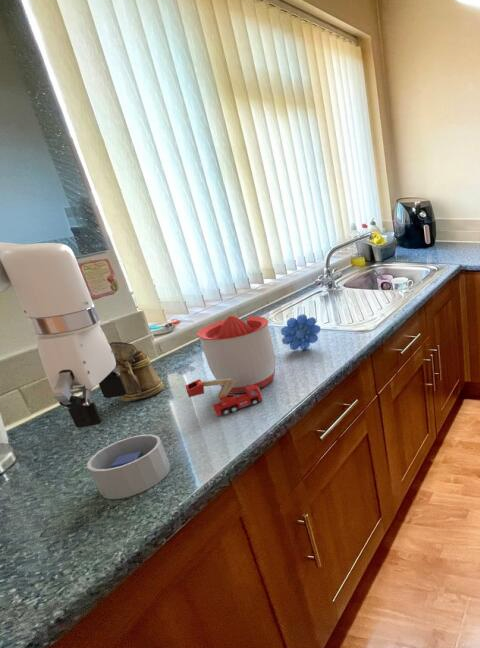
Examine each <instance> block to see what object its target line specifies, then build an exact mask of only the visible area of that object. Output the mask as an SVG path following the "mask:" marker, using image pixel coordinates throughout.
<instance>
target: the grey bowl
mask: <svg viewBox="0 0 480 648" xmlns="http://www.w3.org/2000/svg"><path fill="white" fill-rule="evenodd" d="M140 451H141V452H142V454H143V456H142V457H141V458H139V459H137V460H135V461H133V462H130V463H128V464H125V465H122V466H119V467H115V468H110V467H111V465H112V463H113V462H114V461H115V459H116V458H117V457H118V456H121V455H126V454H130V453H135V452H140ZM86 467H87V470H88V473H89V475H90V476H91V478H92V481H93V483H94V485H95V486H96V488H97V490H98V493H99V494H100V495H101V496H102V497H103V498H104V499H107V500H120V499H125V498H129V497H132V496H133V497H134V496H135V495H138V494H141V493H143V492H145V491H148V490H149V489H151V488H152V487H155V486H156V485H158V484H159V483H160V482H161V481H162V480H164V479H165V478H166V477H167V476H168V474H169V473H170V471H171V469H172V466H171V461H170V459H169V457H168V455H167V451H166V449H165V447H164V445H163V442H162V440H161V437H160V436H158V435H156V434H139V435H133V436H130V437H126V438H124V439H120V440H117V441H115V442H113V443H111V444H109V445H107V446H105V447H103V448H101V449H100V450H99V451H97V452H96V453H95V454H93V455H92V456H91V457H90V458H89V460H88V461H87V462H86Z"/></svg>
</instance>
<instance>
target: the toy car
mask: <svg viewBox="0 0 480 648" xmlns="http://www.w3.org/2000/svg"><path fill="white" fill-rule="evenodd" d="M142 456H143V454H142V452H141V451H140V452H135V453H130V454H126V455H121V456H118V457H117V458H116V459H115V461H114V462H113V463H112V465H111V467H110V468H115V467H119V466H122V465H125V464H128V463H130V462H133V461H135V460H137V459H139V458H141V457H142Z"/></svg>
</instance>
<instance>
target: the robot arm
mask: <svg viewBox="0 0 480 648" xmlns="http://www.w3.org/2000/svg"><path fill="white" fill-rule="evenodd" d="M78 263H79V262H78V261H77V258H76V256H75V253H74V251H73V250H72V248H71V247H70V246H68V245H66V244H64V243H60V242H36V243H26V244H25V243H13V242H5V241H4V242H3V241H0V294H1V293H5V292H6V293H7V292H9V291H12V290H13V291H14V293H15V295H16V297H17V299H18V301H19V303H20V306H21V308H22V310H23V312H24V314H25V316H26V318H27V321H28V322H29V325H30V327H31V329H32V332H33V333H34V336H35V337H36V344H37V350H38V354H39V357H40V358H39V359H40V362H41V364H42V367H43V370H44V373H45V375H46V378H47V380H48V383H49V385H50V388H51V390H52V397H53V398H54V399H55V400H57V402H58V403H59V405H60V406H62V407H63V408H64V409H65V410H68V412H69V415H70V417H71V419H72V421H73V423H74V426H75V427H76V428H77V429H81V428H86V427H92V426H98V425H101V424H102V422H103V419H102V416H101V414H100V411H99V409H98V407H97V404H96V403H95V401H93V402H92V399H91V398H92V390H93V389H95V388H96V387H97V386H98V387H99V389H100V391H101V393H102V395H103V398H105V399H111V398H117V397H120V396H124V395H126V394H127V391H126V388H125V386H124V383H123V381H122V378H121V376H117V375H120V370H119V369H118V368H117V363H118V362H117V360H116V359H115V350H114V348H111V347H110V345H109V344H110V343H109V340H108V338H107V337H106V334H105V333H104V331H103V329H102V327H101V323H102V322H101V319H100V317H99V314H98V311H97V309H96V307H95V303H94V301H93V299H92V297H91V293H90V290H89V288H88V286H87V284H86V281H85V278H84V276H83V274H82V270H81V268H80V266H79V264H78ZM79 393H81V397H80V396H78V395H74V394H79Z"/></svg>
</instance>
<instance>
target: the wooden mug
mask: <svg viewBox="0 0 480 648" xmlns="http://www.w3.org/2000/svg"><path fill="white" fill-rule="evenodd" d="M109 345H110V347H111V348H114V350H115V359H116V360H117V362H118V363H117V368H118V369H119V370H120V375H117V376H121V378H122V381H123V383H124V386H125V388H126V391H127V394H126V395H124V396H119V398H120V401H122V402H136V401H141V400H145V399H149V398H151V397H153V396H156V395H157V394H159V393H161V392H162V391H163V390H164V389H165V385H164V384H163V381H162V380H161V379H160V378H159V376H158V373H157V372H156V371H155V369H154V368H153V366H152V364H151V359H150V358H149V355H147V354H146V353H145V352H144V350H141V349H137V347H136V346H135V345H134V344H133V343H130V342H129V343H128V342H120V341H111V342H110V343H109Z"/></svg>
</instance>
